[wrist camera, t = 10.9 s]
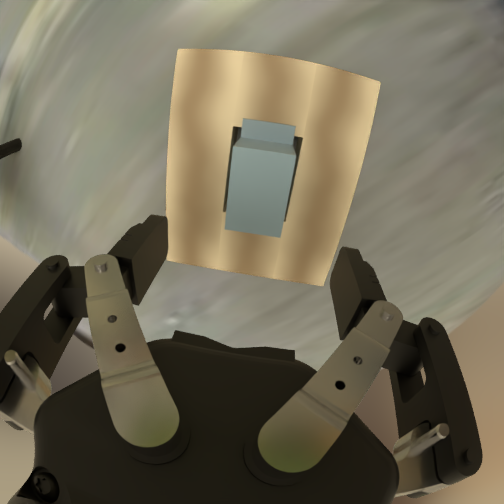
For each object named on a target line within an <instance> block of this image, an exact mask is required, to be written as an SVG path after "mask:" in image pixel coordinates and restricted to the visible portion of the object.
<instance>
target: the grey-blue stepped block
mask: <svg viewBox="0 0 504 504" xmlns="http://www.w3.org/2000/svg"><path fill="white" fill-rule="evenodd" d="M295 128H296V126H293V125H287V124H281V123H275V122H268V121H261V120H254V119H246V118H243V122H242V130H241V137H240V139H239V140H238V141H237V142H236V143H235V145H234V146H233V151H232V160H231V169H230V179H229V189H228V199H227V209H226V219H225V230H232V231H238V232H245V233H252V234H258V235H265V236H272V237H278V238H280V237H281V232H282V227H283V222H284V217H285V212H286V207H287V202H288V197H289V192H290V187H291V182H292V176H293V171H294V166H295V160H296V153H295V150H294V148H293V140H294V134H295Z"/></svg>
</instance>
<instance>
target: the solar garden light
mask: <svg viewBox="0 0 504 504" xmlns="http://www.w3.org/2000/svg"><path fill="white" fill-rule="evenodd" d="M21 147H22V146H21V140H20V139H19V138H18V139H14V140H12V141H9V142H7V143H5V144H2V145H0V159H1V158H3V157H6V156H8V155H10V154H12V153H14V152H17V151H19V150H20V149H21Z"/></svg>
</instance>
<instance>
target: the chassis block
mask: <svg viewBox="0 0 504 504" xmlns="http://www.w3.org/2000/svg"><path fill="white" fill-rule="evenodd" d="M380 84H381V82H378V81H376V80H373V79H370V78H367V77H364V76H361V75H357V74H354V73H351V72H347V71H344V70H340V69H337V68H333V67H329V66H325V65H321V64H317V63H312V62H308V61H303V60H298V59H293V58H287V57H281V56H275V55H268V54H261V53H253V52H243V51H231V50H214V49H178V52H177V59H176V66H175V74H174V82H173V91H172V100H171V111H170V123H169V137H168V154H167V179H166V217H167V219H168V253H167V261H172V262H178V263H184V264H189V265H195V266H201V267H206V268H212V269H218V270H224V271H230V272H236V273H242V274H248V275H254V276H260V277H267V278H273V279H279V280H286V281H292V282H299V283H305V284H312V285H319V286H323V285H324V282H325V280H326V277H327V274H328V272H329V269H330V266H331V263H332V260H333V258H334V255H335V252H336V249H337V246H338V243H339V240H340V237H341V234H342V231H343V228H344V225H345V222H346V218H347V215H348V212H349V209H350V206H351V202H352V199H353V196H354V192H355V189H356V185H357V182H358V178H359V175H360V171H361V167H362V163H363V160H364V156H365V152H366V148H367V144H368V140H369V136H370V131H371V127H372V123H373V118H374V114H375V109H376V104H377V99H378V94H379V89H380ZM243 118H246V119H254V120H261V121H268V122H275V123H281V124H287V125H293V126H296V128H295V134H294V140H293V148H294V150H295V153H296V160H295V166H294V171H293V176H292V182H291V187H290V192H289V197H288V202H287V207H286V212H285V217H284V222H283V227H282V232H281V237H280V238H278V237H272V236H265V235H258V234H252V233H245V232H238V231H232V230H225V219H226V209H227V199H228V189H229V179H230V169H231V160H232V151H233V146H234V145H235V143H236V142H237V141H238V140H239V139H240V137H241V130H242V122H243Z"/></svg>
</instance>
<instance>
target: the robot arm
mask: <svg viewBox="0 0 504 504" xmlns="http://www.w3.org/2000/svg"><path fill="white" fill-rule="evenodd" d="M167 253H168V219H167V217H165V216H158V215H150V216H149V217H148V218H147V219H146V220H145V222H144V223H143V224H141V223H139V224H137V225H135V226H133V227H131V228H130V229H129V230H128V231H127V232H126V233H125V235H124V236H123V237H122V238H121V240H119V241H118V242H117V243H116V245H115V246H114V247H113V248H112V249H111V250H110V251H109V253H108V254H101V255H97V256H94V257H92V258H90V259H89V260H88V261H87V262H86V264H85V266H69V263H68V259H67V258H66V257H65V256H62V255H55V256H51V257H49V258H47V259H45V260H44V261H43V262H42V263H41V264H40V265H39V266H38V267H37V268H36V269H35V270H34V272H33V273H32V274H31V275H30V276H29V278H28V279H27V280H26V281H25V282H24V283H23V285H22V286H21V287H20V288H19V289H18V291H17V292H16V293H15V294H14V296H13V297H12V299H11V300H10V301H9V302H8V303H7V305H6V306H5V308H4V309H3V310H2V312H1V313H0V419H2V420H4V421H5V422H7V423H8V424H9V425H10V426H11V427H13V428H14V429H17V430H23V429H25V430H26V431H28V432H29V433H31V434H33V435H34V440H35V459H34V467H33V471H32V473H31V475H30V477H29V478H28V480H27V481H26V482H25V483H24V485H23V486H22V487H21V488H20V490H18V491H17V492H16V493H15V495H14V496H13V497H12V498H11V499H10V500H9V502H8V504H391V503H392V501H393V499H394V497H397V496H403V495H407V496H408V497H411V498H418V497H421V496H424V495H427V494H429V493H432V492H435V491H438V490H440V489H442V488H445V487H447V486H450V485H452V484H454V483H456V482H459V481H461V480H463V479H465V478H467V477H469V476H471V475H473V474H475V473H476V472H477V471H478V470H479V468H480V466H481V463H482V449H481V443H480V438H479V434H478V429H477V425H476V420H475V416H474V412H473V408H472V405H471V401H470V398H469V394H468V391H467V388H466V384H465V381H464V378H463V375H462V372H461V369H460V366H459V364H458V361H457V358H456V355H455V353H454V351H453V348H452V345H451V343H450V340H449V338H448V335H447V333H446V330H445V329H444V327H443V326H442V325H441V324H440V323H439V322H438V321H436V320H435V319H432V318H428V317H426V318H423V319H422V320H421V321H420V323H419V324H418V325H416V324H413V323H410V322H408V321H405V320H403V315H402V313H401V311H400V310H399V309H398V308H397V307H396V306H395V305H394V304H392V303H390V302H387V300H386V298H385V295H384V293H383V290H382V288H381V285H380V284H379V281H378V278H376V277H377V276H376V274H375V271H374V269H373V268H372V267H371V266H370V265H369V264H368V263H367V262H366V261H363V259H362V256H361V254H360V252H359V250H358V249H353V248H348V247H342V248H341V250H340V252H339V255H338V258H337V261H336V263H335V266H334V269H333V271H332V274H331V279H330V289H331V294H332V299H333V304H334V309H335V314H336V320H337V325H338V331H339V337H340V340H343V342H342V343H341V344H340V345H339V347H338V348H337V349H336V350H335V351H334V353H333V354H332V355H331V356H330V357H329V359H328V360H327V361H326V362H325V363H324V365H323V366H322V367H321V368H320V369H319V370H318V371H316V370H315V369H313V368H312V367H310V366H308V365H307V364H305V363H303V362H301V361H298V360H295V350H287V349H279V348H272V347H251V348H232V347H229V346H226V345H224V344H221V343H219V342H217V341H214V340H212V339H209V338H207V337H205V336H200V335H195V334H191V333H186V332H181V331H177V330H175V332H174V335H173V337H172V339H160V340H154V341H151V342H148V343H146V341H145V338H144V335H143V333H142V330H141V327H140V325H139V322H138V319H137V316H136V314H135V311H134V308H133V305H132V304H135V305H139V304H140V303H141V301H142V299H143V297H144V295H145V294H146V292H147V290H148V288H149V287H150V285H151V283H152V281H153V280H154V278H155V276H156V274H157V273H158V271H159V269H160V268H161V266H162V264H163V263H164V261H165V259H166V257H167ZM50 303H52V305H53V308H52V310H51V311H50V313H49V314H48V316H47V317H46V319H45V320H44V319H43V318H44V313H45V311H46V309H47V308H48V306H49V305H50ZM82 317H85V318H89V324H90V330H91V335H92V340H93V345H94V350H95V354H96V359H97V363H98V367H99V369H98V370H96V371H95V372H93V373H91V374H89V375H87V376H86V377H84V378H82V379H80V380H78V381H76V382H75V383H73V384H71V385H69V386H67V387H65V388H63V389H62V390H60V391H58V392H56V393H54V394H52V395H51V396H50V394H51V382H50V378H51V376H52V374H53V372H54V370H55V368H56V365H57V364H58V362H59V360H60V358H61V356H62V354H63V352H64V350H65V348H66V346H67V344H68V342H69V340H70V338H71V337H72V335H73V333H74V331H75V330H76V328H77V326H78V324H79V323H80V321H81V319H82ZM381 367H383V368H386V369H389V373H390V379H391V384H392V390H393V396H394V402H395V410H396V417H397V425H398V433H399V440H398V441H397V442H396V443H395V446H394V449H393V454H391V453H390V451H389V450H388V449H387V448H386V447H385V446H384V445H383V444H382V443H381V441H380V440H379V439H378V438H377V437H376V436H375V435H374V434H373V433H372V432H371V431H370V430H369V428H368V427H367V426H366V425H365V424H364V423H363V422H362V421H361V419H360V418H359V417H358V416H357V415H356V414H355V413H354V411H355V410H356V408H357V406H358V405H359V403H360V402H361V400H362V399H363V397H364V395H365V394H366V392H367V391H368V389H369V388H370V386H371V384H372V383H373V381H374V379H375V377H376V375H377V374H378V372H379V370H380V369H381ZM423 367H424V371H425V374H426V382H425V385H424V383H423V379H422V376H421V372H420V370H421V369H422V368H423Z"/></svg>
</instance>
